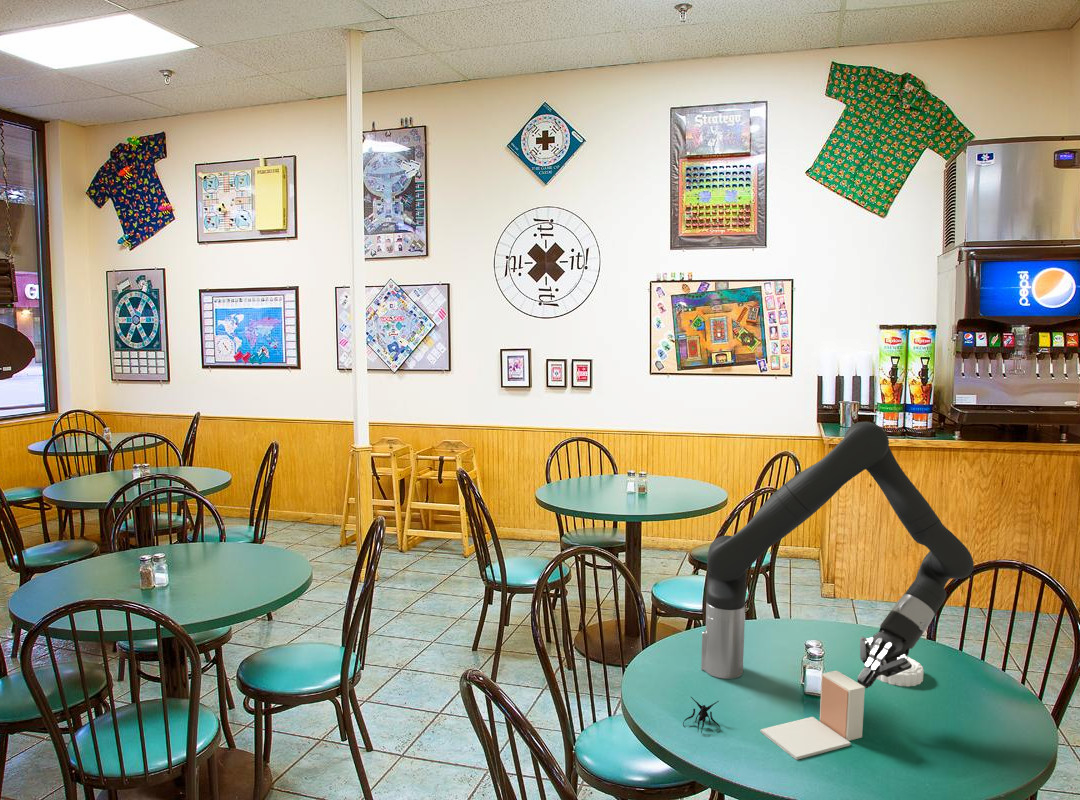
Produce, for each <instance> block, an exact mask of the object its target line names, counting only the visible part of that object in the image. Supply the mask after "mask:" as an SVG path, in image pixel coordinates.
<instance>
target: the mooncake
mask: <svg viewBox="0 0 1080 800" xmlns="http://www.w3.org/2000/svg"><path fill="white" fill-rule="evenodd" d="M907 658H908V661H909V662H910V663H911V665H912V667H911V668H910V669H907V670H905V671H902V672H900V673H897V674H895V675H892V676H889V677H886V676H885V675H881V676H878V677H877V678H876V680H879V681H880V682H882V683H886V684H887V683H888V684H889V685H892V686H895V685H896V686H897V687H915V686H918V685H921V684H922V683H923V681H924V667H923V666H922V664H921V663H920V662H918V661H917V660H915V659H913V658H911V657H910V656H907ZM884 661H885V660H884ZM885 662H886V661H885ZM880 666H881V665H880Z"/></svg>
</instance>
